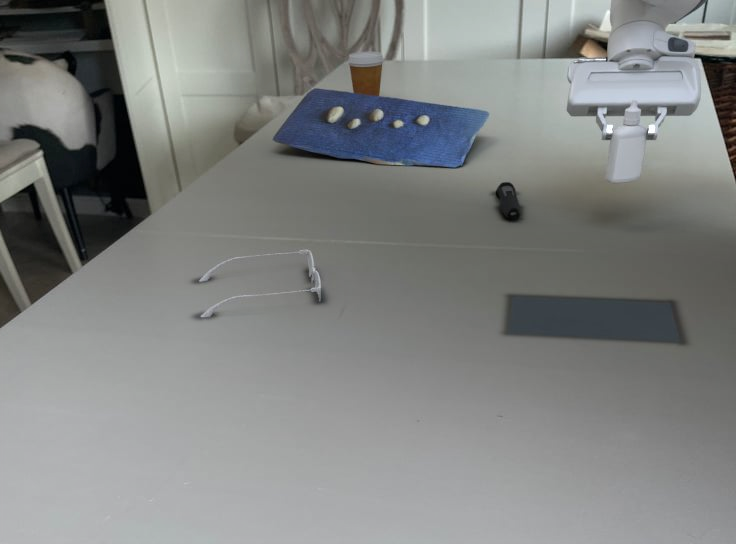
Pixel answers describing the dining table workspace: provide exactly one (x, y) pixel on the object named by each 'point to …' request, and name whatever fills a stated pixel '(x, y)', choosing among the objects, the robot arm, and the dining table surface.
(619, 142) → the eye dropper bottle
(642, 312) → the mat
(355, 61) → the disposable coffee cup
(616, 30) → the robot arm
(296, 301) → the dining table surface
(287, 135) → the mat
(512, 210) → the electric trimmer
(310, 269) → the eyeglasses
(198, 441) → the dining table surface
